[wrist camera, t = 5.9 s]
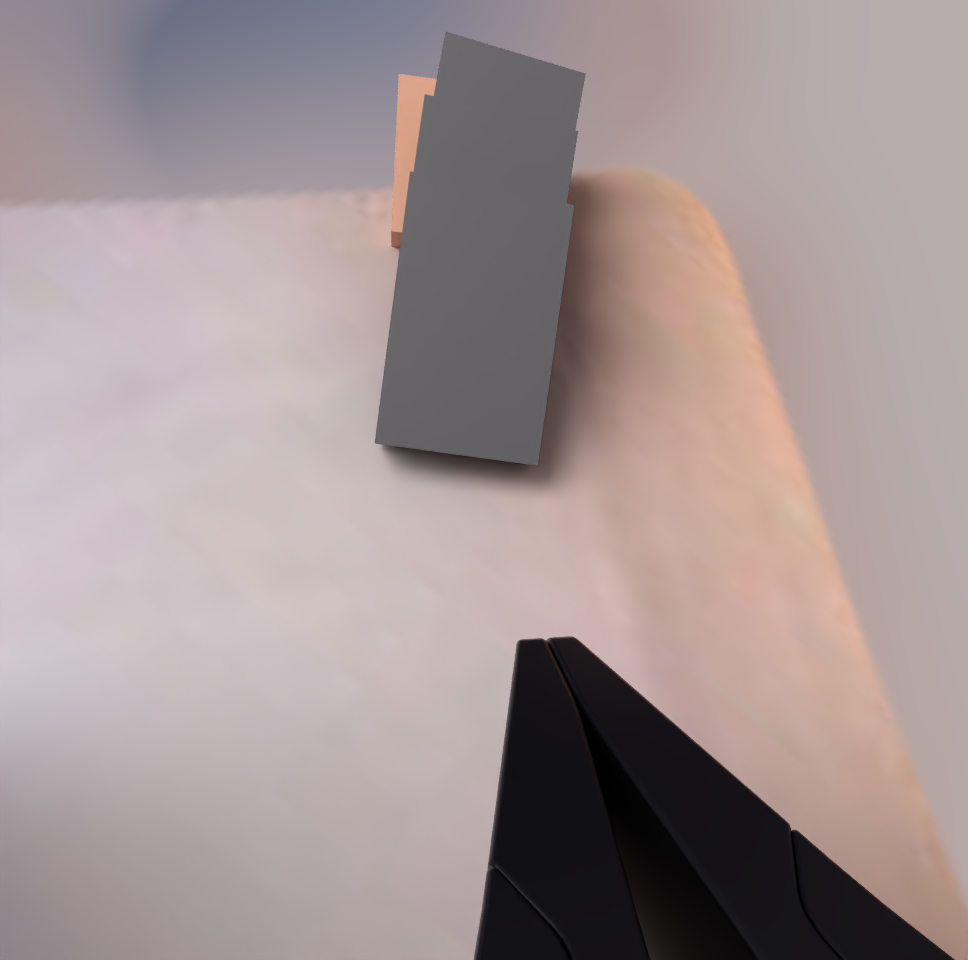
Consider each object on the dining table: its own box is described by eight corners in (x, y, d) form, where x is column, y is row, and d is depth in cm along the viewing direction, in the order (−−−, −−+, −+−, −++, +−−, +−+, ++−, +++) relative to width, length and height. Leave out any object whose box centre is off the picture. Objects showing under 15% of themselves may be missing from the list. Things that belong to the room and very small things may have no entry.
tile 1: (537, 465, 17) (574, 205, 17) (374, 443, 16) (409, 170, 16) (529, 464, 18) (563, 221, 18) (377, 443, 17) (410, 190, 17)
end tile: (528, 244, 20) (519, 91, 23) (391, 231, 19) (399, 73, 22) (521, 266, 21) (514, 117, 24) (391, 255, 21) (398, 102, 23)
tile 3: (544, 296, 19) (585, 73, 19) (402, 262, 18) (445, 31, 18) (536, 306, 20) (575, 97, 20) (402, 275, 19) (443, 58, 20)
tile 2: (539, 376, 18) (577, 131, 18) (387, 349, 17) (424, 93, 17) (532, 380, 19) (567, 151, 19) (388, 356, 18) (423, 117, 18)
